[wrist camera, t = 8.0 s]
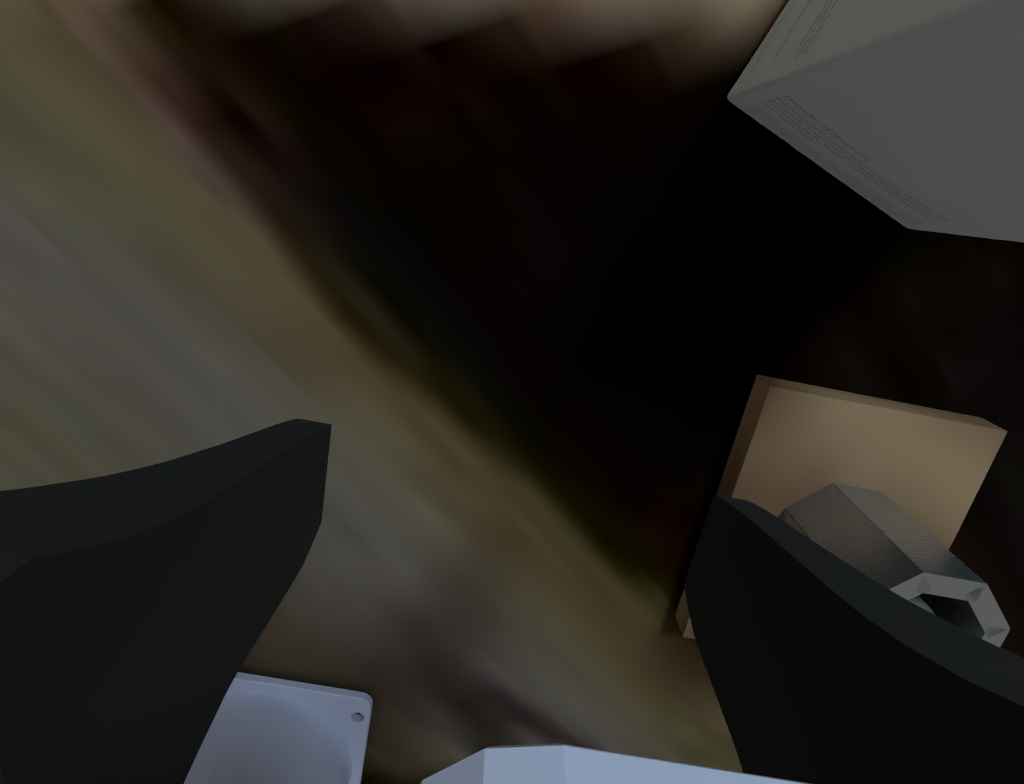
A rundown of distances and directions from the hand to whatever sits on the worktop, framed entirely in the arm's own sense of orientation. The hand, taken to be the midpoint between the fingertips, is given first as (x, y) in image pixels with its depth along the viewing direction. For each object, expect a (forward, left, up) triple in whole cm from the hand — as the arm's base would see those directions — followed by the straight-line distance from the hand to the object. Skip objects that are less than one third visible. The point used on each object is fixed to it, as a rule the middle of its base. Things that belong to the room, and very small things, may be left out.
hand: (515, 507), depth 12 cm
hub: (-4, -12, -9) cm, 15 cm away
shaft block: (-4, -12, -10) cm, 16 cm away
